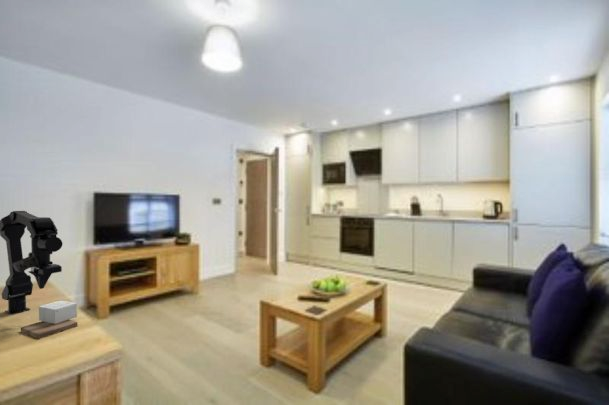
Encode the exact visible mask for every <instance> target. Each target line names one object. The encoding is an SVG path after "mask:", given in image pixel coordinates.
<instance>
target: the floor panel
mask: <svg viewBox="0 0 609 405" xmlns="http://www.w3.org/2000/svg"><path fill="white" fill-rule="evenodd" d="M76 327H78V321H75V320H71V319H69V320H66V321H63V322H60V323H57V324H53V323H48V322H43V321H38V322H34V323H31V324H28V325H25V326H20V332H21V333H24V334H26V335H29V336H31V337H34V338H36V339H39V340H40V339H42V338H46V337H49V336H51V335H56V334H58V333H61V332H64V331H67V330H70V329H74V328H76Z"/></svg>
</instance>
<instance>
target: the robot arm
mask: <svg viewBox="0 0 609 405" xmlns="http://www.w3.org/2000/svg"><path fill="white" fill-rule="evenodd" d="M26 230H27V231H28V232H29V234H30V236H29V238H31V239H30V240H31V241H30V242H31V243H30V244H31V251H30V252H28V255H27V257H25V258H24V257H23V248H22V242H21V241H22V238H23V236H24V235H25V233H26V232H25V231H26ZM58 231H59V230H58V228H57V227H56V225H55V222H54V221H53V220H52V218H51V217H46V216H45V217H42V216H41V217H39V216H36V215H34V214H32V213H30V212H27V210H26V211H25V210H13V211H11V212H10V213H9V214H8V215H6V216H4V217H2V218H1V219H0V237H2V239H3V240H4V241H5V243H6V251H7V262H8V270H9V276H8V277H7V279H6V280H5V286H4V287H3V290H2V292H1V299H2V300H5V301H7V304H8V306H7V308H8V309H7V310H5V311H4V313H6V314H9V315H14V314H19V313H23V312H25V311H30V310H31V308H30V307H27V297H28V296H31V295H32V293H33V288H34V283H33V282H32V277H31V275H32V276H34V278H35V280H36V283H37V286H38V289H39V290H43V289H44V288H45V286H46V285H47V283H48V280H49V279H50V278H51V275H52V274H55V273H62V271H63V270H62V266H61V265H60V264H57V263H53V261H51V255H53V253H54V252H58V251H60V250H61V249H62V247H63V241H62V239H61V238H60V237H57V235H58V234H59V233H58ZM28 269H30V271H28V273H29V274H27V273H26V272H25V271H27V270H28Z"/></svg>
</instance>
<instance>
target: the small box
mask: <svg viewBox="0 0 609 405" xmlns="http://www.w3.org/2000/svg"><path fill="white" fill-rule="evenodd" d="M77 306H78V303H77V302H73V301H72V302H71V301H67V300H66V301H65V300H58V301H57V300H56V301H54V302H51V303H46V304H42V305H40V306H38V322H41V321H43V322H48V323H53V324H57V323H60V322H63V321H66V320H71V319H75V318H77V316H78V312H77V309H78V307H77Z"/></svg>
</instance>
